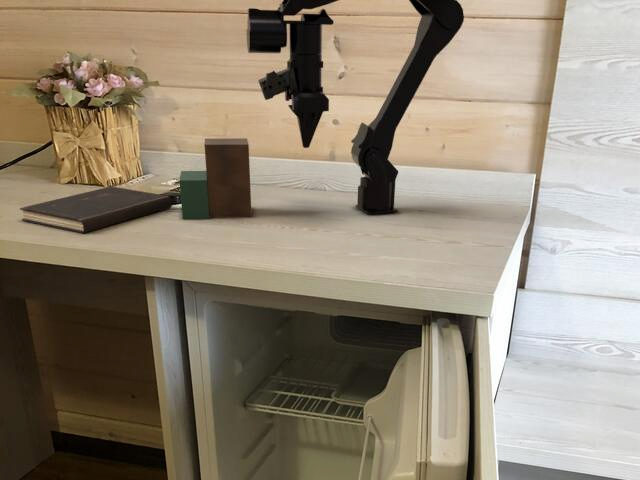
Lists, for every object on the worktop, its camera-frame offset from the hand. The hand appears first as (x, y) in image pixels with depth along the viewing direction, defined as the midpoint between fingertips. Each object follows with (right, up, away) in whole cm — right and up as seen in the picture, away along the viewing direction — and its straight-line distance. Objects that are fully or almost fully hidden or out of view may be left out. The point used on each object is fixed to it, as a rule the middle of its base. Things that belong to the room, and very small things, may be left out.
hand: (305, 147), depth 139 cm
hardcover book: (-39, -12, +2) cm, 41 cm away
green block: (-21, -11, +4) cm, 24 cm away
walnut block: (-15, -11, +5) cm, 19 cm away
